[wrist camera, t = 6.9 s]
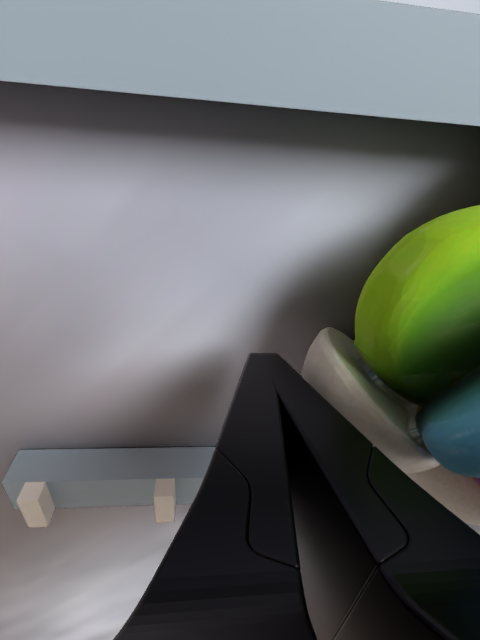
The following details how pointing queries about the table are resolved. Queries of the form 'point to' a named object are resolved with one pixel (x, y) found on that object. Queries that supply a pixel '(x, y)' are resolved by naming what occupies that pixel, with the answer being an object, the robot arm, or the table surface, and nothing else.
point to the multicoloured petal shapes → (416, 360)
